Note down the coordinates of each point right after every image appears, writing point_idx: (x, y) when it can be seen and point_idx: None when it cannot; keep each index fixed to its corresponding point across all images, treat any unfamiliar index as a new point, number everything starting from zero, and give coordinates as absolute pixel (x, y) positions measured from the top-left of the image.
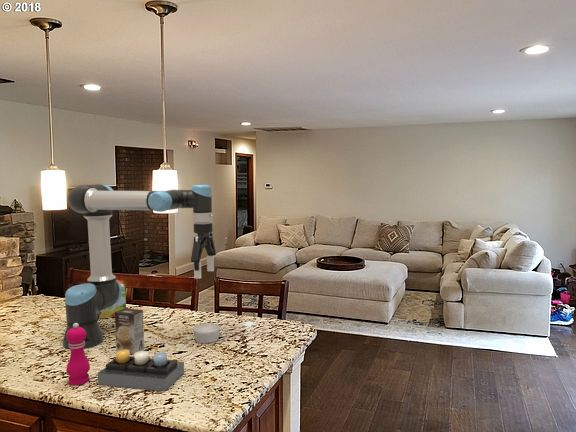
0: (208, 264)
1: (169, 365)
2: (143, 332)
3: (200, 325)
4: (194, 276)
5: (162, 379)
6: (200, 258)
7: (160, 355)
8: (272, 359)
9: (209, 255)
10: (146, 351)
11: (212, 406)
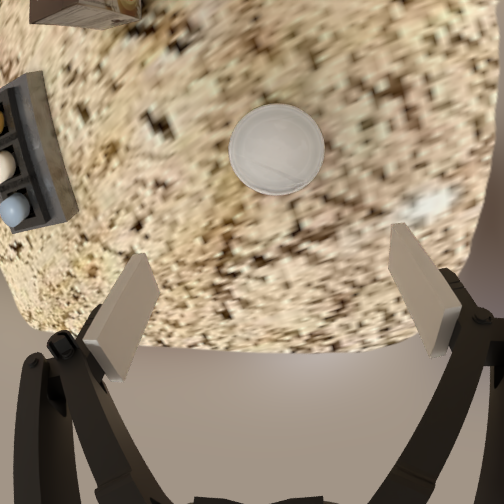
0: (410, 265)
1: (26, 224)
2: (118, 13)
3: (292, 118)
4: (128, 264)
5: (11, 230)
6: (113, 405)
7: (8, 216)
8: (215, 331)
9: (457, 325)
10: (2, 173)
11: (43, 303)
